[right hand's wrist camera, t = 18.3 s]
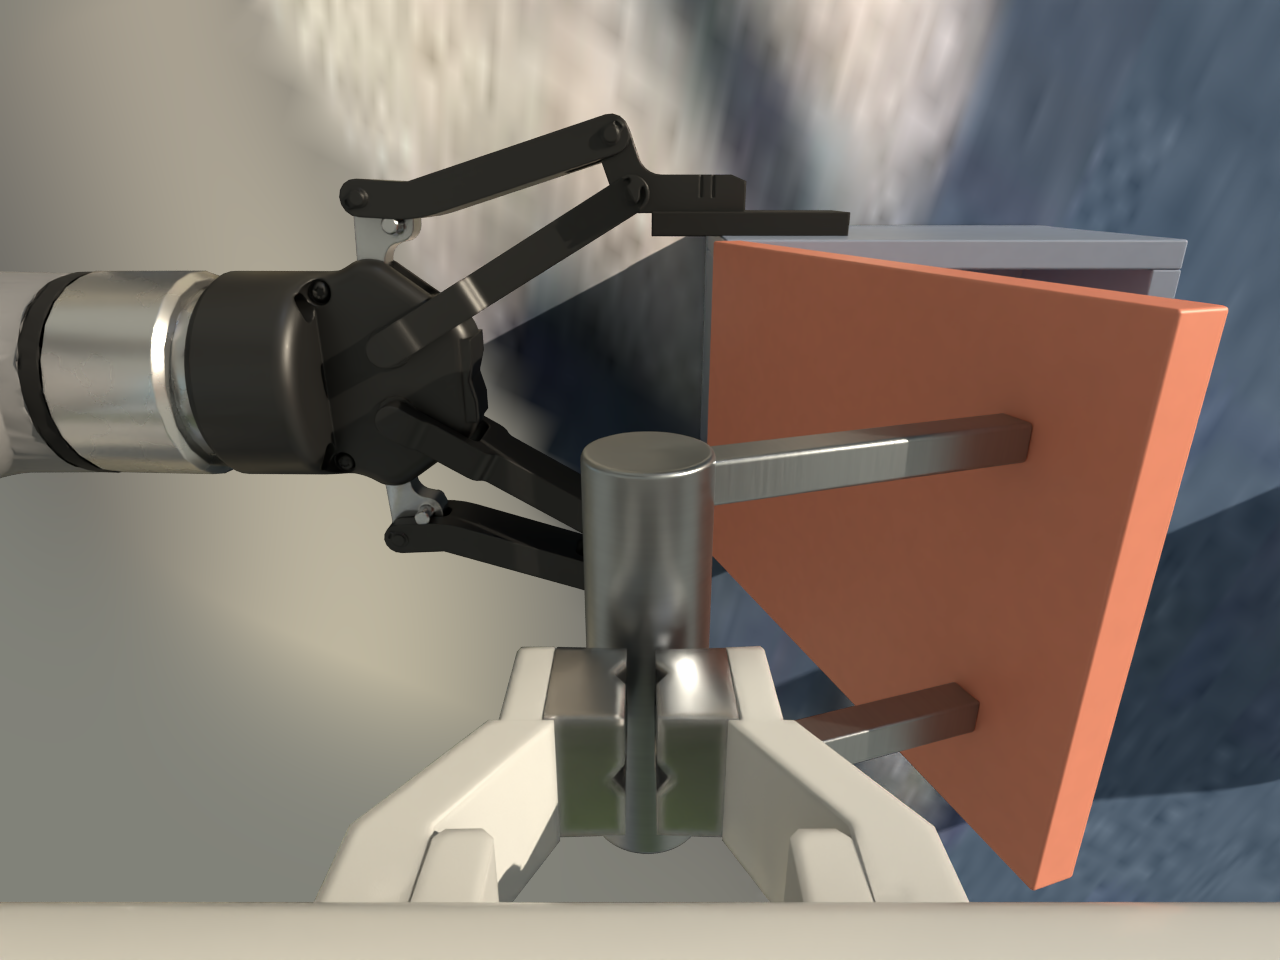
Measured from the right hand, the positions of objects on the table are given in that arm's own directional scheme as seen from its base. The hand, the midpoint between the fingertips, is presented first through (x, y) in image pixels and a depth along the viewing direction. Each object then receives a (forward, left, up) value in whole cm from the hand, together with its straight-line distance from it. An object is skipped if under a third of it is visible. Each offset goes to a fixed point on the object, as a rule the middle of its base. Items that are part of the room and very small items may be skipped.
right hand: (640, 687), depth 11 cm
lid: (-2, -5, -8) cm, 10 cm away
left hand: (-3, -6, -19) cm, 20 cm away
